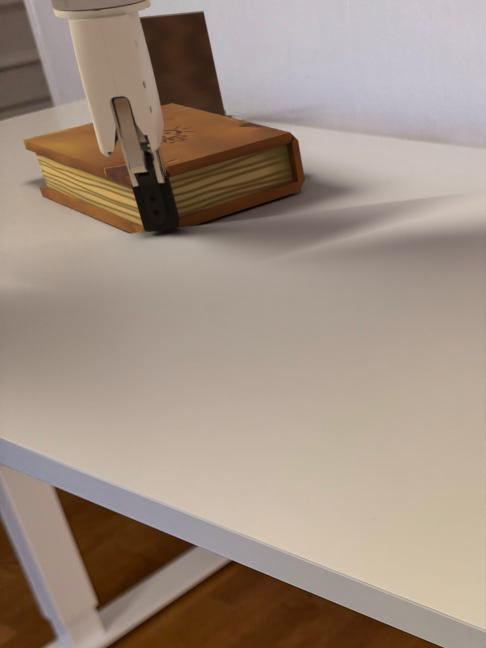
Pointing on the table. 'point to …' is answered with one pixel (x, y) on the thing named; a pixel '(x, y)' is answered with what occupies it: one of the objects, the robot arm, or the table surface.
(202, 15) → the bookend
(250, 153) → the diary
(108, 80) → the robot arm
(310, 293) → the table surface
